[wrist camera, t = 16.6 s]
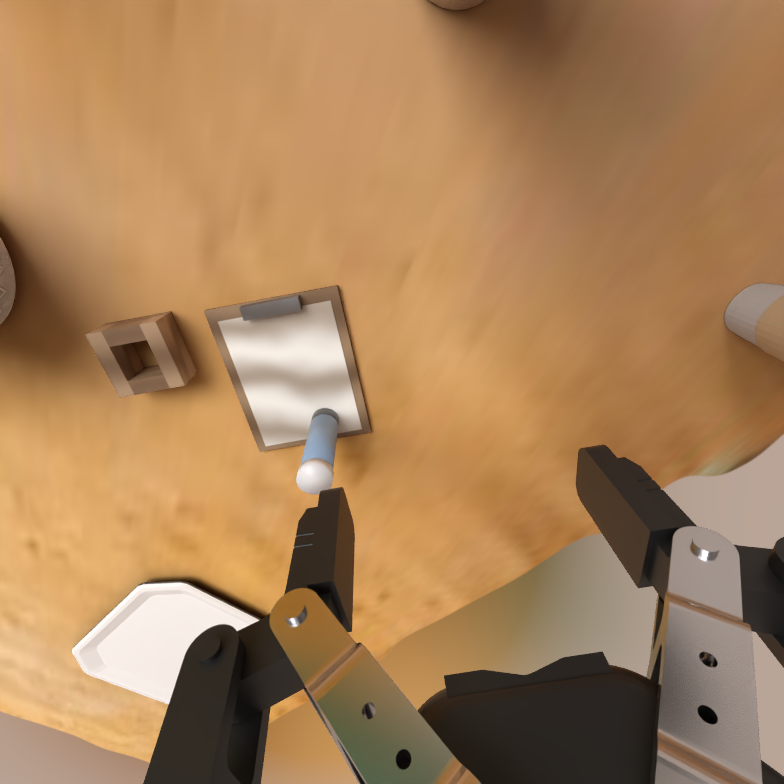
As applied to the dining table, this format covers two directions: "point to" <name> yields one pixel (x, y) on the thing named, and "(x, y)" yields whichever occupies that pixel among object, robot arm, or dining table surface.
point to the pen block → (125, 363)
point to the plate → (153, 635)
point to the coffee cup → (759, 317)
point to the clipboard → (290, 364)
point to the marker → (319, 453)
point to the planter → (6, 283)
